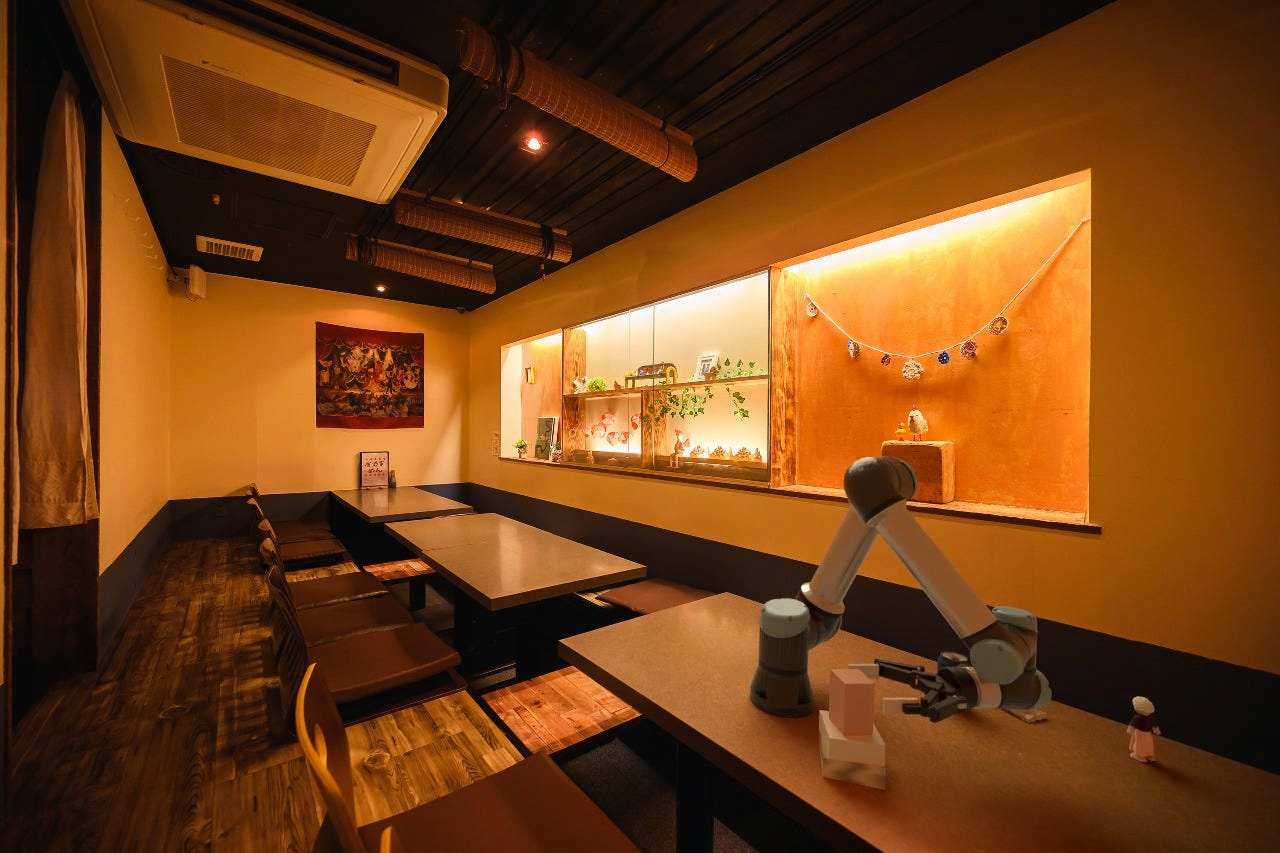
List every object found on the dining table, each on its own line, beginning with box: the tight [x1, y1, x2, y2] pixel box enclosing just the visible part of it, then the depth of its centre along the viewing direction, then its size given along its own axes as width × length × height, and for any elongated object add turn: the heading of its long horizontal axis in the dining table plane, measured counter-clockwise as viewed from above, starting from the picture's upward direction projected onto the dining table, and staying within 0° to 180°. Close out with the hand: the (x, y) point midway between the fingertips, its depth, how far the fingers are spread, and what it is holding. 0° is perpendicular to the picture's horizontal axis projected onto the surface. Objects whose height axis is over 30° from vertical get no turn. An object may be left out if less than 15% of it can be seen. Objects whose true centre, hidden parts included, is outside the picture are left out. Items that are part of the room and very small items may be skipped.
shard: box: [1003, 708, 1048, 724], centre depth 124 cm, size 11×8×2 cm
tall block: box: [828, 668, 875, 736], centre depth 101 cm, size 6×6×10 cm
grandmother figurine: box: [1126, 696, 1161, 763], centre depth 106 cm, size 8×4×13 cm, turn 110°
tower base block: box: [818, 731, 887, 791], centre depth 101 cm, size 11×11×4 cm
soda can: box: [936, 650, 971, 674], centre depth 126 cm, size 7×7×12 cm
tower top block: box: [818, 709, 886, 768], centre depth 101 cm, size 10×10×4 cm
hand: (864, 687), depth 100 cm, fingers open, 13 cm apart
